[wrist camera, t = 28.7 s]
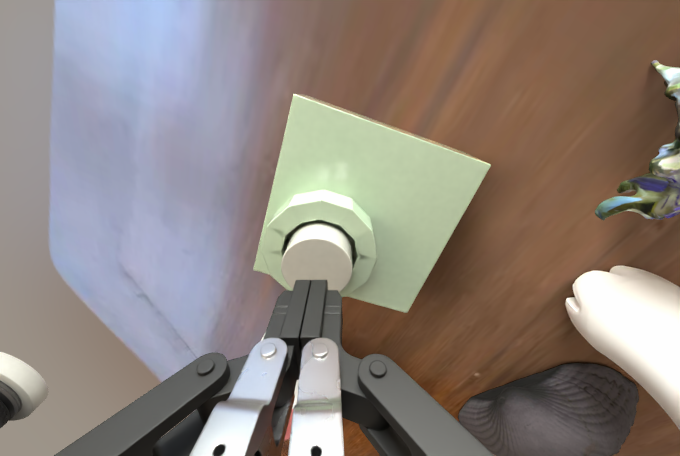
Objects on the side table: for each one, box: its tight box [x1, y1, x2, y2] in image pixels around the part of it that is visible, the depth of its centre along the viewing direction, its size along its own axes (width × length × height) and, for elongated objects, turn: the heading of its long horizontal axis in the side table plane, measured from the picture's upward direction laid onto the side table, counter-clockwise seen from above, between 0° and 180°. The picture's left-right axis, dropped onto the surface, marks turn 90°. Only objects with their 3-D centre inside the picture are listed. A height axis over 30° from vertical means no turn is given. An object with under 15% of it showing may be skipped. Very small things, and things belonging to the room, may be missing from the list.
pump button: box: [281, 223, 353, 292], centre depth 16 cm, size 4×4×2 cm
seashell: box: [458, 363, 639, 456], centre depth 29 cm, size 14×19×8 cm
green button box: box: [254, 94, 491, 313], centre depth 19 cm, size 12×12×6 cm
